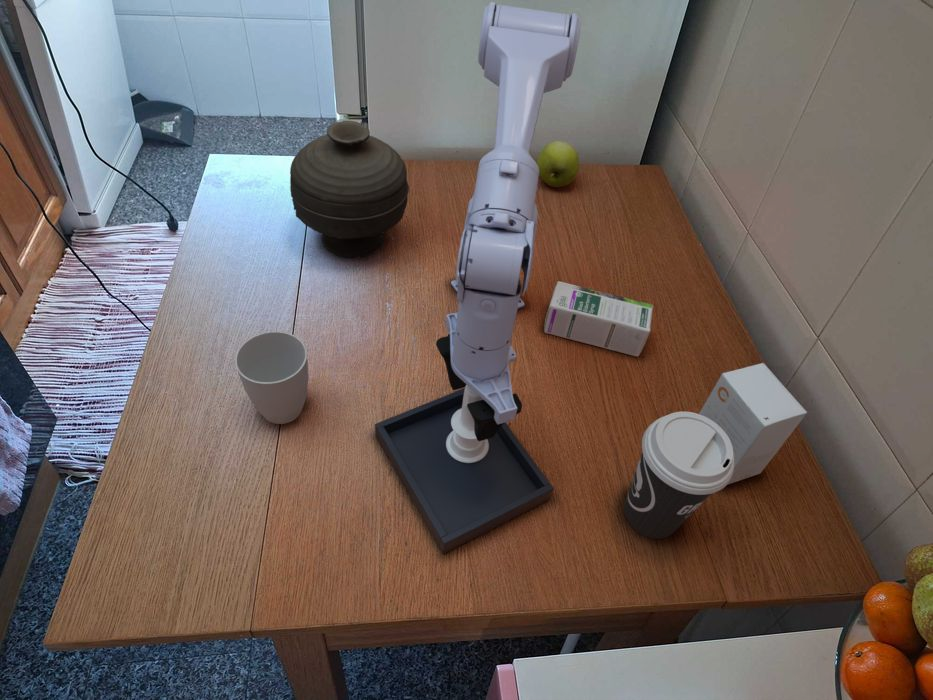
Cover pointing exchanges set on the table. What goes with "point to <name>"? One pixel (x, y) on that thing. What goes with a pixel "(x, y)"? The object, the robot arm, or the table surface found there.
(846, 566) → the table surface
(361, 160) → the pot
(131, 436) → the table surface
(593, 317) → the syrup box
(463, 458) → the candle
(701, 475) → the coffee cup
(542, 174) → the apple
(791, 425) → the small box
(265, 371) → the cup
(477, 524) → the tray
